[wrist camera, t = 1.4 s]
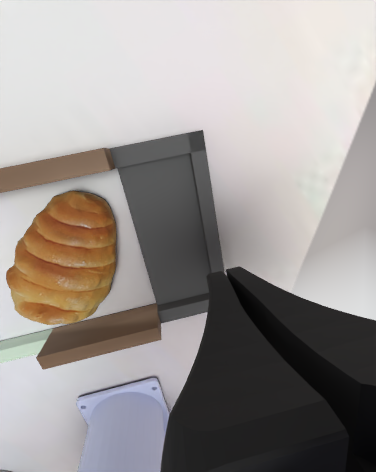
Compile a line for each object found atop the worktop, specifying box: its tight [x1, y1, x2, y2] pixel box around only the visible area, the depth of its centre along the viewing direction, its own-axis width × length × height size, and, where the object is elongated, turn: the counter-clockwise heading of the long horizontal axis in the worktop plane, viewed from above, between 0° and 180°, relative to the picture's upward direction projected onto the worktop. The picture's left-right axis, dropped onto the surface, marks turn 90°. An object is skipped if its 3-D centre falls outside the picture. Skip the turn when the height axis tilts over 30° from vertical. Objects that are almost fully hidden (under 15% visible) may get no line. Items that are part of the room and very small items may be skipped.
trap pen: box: [110, 130, 224, 323], centre depth 17 cm, size 14×6×1 cm, turn 11°
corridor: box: [0, 148, 161, 369], centre depth 16 cm, size 14×9×3 cm, turn 11°
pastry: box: [6, 191, 116, 325], centre depth 16 cm, size 9×7×4 cm
